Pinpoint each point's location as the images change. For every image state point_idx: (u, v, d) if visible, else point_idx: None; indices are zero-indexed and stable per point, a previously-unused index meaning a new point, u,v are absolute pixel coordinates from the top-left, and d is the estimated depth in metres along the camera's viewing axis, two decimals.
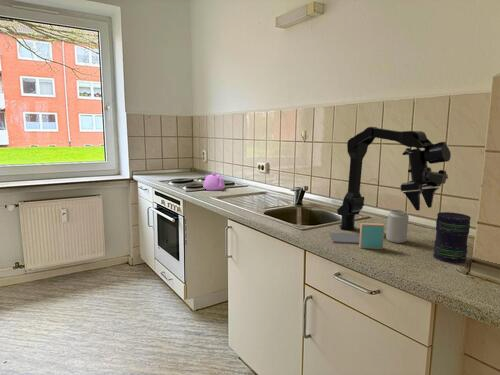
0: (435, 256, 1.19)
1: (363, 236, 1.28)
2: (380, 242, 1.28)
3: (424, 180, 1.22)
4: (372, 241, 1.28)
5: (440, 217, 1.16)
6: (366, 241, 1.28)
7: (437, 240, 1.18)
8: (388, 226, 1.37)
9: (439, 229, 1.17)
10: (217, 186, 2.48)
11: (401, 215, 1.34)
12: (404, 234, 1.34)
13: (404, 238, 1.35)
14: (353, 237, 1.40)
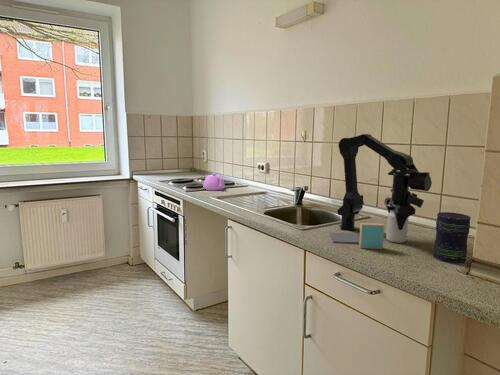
0: (435, 256, 1.19)
1: (363, 236, 1.28)
2: (380, 242, 1.27)
3: (409, 203, 1.33)
4: (372, 241, 1.28)
5: (440, 217, 1.16)
6: (366, 241, 1.28)
7: (437, 240, 1.18)
8: (388, 226, 1.37)
9: (439, 229, 1.17)
10: (217, 186, 2.48)
11: None
12: (404, 234, 1.34)
13: (404, 238, 1.35)
14: (353, 237, 1.40)
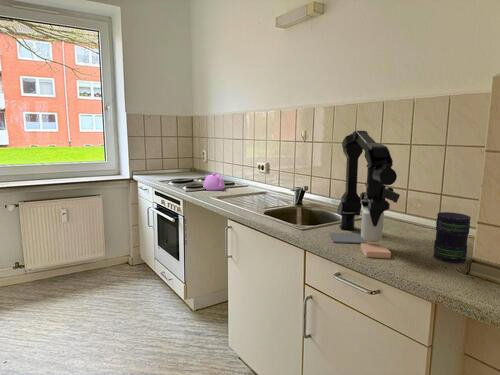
0: (435, 256, 1.19)
1: None
2: None
3: (384, 197, 1.24)
4: None
5: (440, 217, 1.16)
6: None
7: (437, 240, 1.18)
8: (362, 224, 1.28)
9: (439, 229, 1.17)
10: (217, 186, 2.48)
11: None
12: (379, 232, 1.26)
13: (379, 237, 1.26)
14: (353, 237, 1.40)
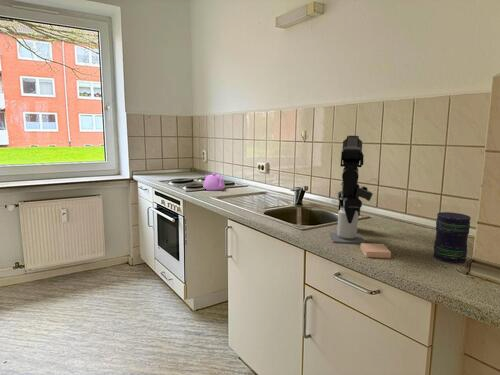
0: (435, 256, 1.19)
1: None
2: None
3: (357, 196, 1.34)
4: None
5: (440, 217, 1.16)
6: None
7: (437, 240, 1.18)
8: (338, 223, 1.39)
9: (439, 229, 1.17)
10: (217, 186, 2.48)
11: None
12: (353, 230, 1.36)
13: (353, 234, 1.37)
14: None
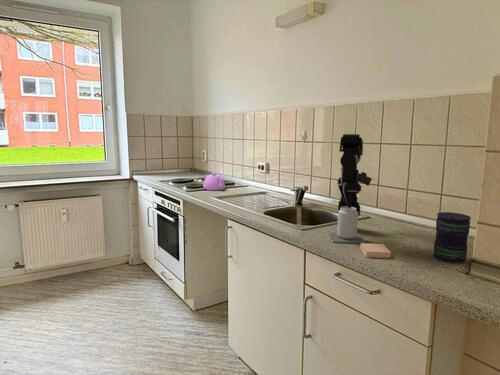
0: (435, 256, 1.19)
1: None
2: None
3: (357, 181, 1.36)
4: None
5: (440, 217, 1.16)
6: None
7: (437, 240, 1.18)
8: (338, 223, 1.39)
9: (439, 229, 1.17)
10: (217, 186, 2.48)
11: (350, 211, 1.35)
12: (353, 230, 1.36)
13: (353, 234, 1.37)
14: None
